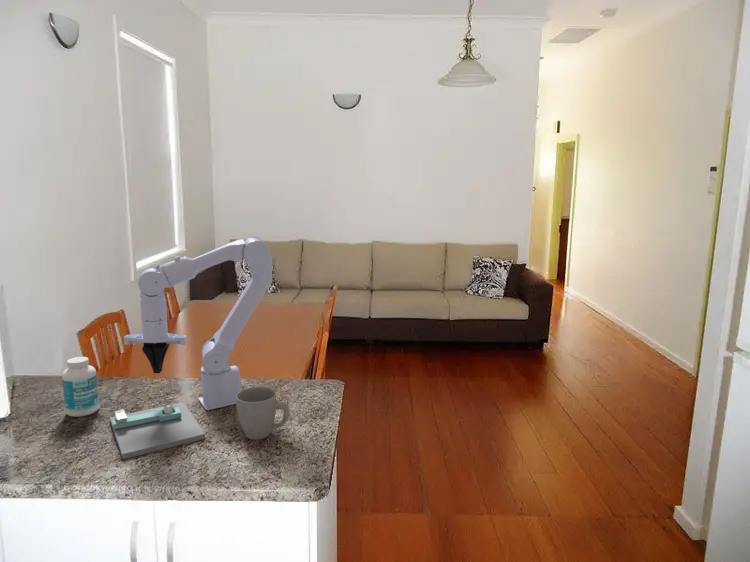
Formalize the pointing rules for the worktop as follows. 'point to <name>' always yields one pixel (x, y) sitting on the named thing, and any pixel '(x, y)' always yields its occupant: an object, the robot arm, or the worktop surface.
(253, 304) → the robot arm
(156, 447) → the board
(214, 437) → the worktop surface
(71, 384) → the pill bottle
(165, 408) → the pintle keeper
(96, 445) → the worktop surface
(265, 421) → the mug
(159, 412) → the link
